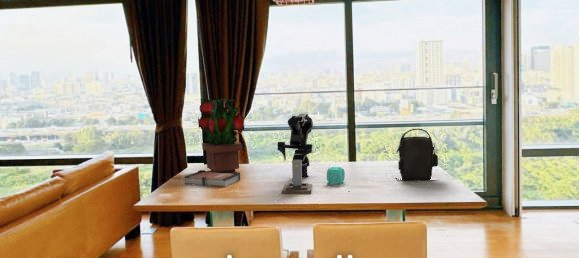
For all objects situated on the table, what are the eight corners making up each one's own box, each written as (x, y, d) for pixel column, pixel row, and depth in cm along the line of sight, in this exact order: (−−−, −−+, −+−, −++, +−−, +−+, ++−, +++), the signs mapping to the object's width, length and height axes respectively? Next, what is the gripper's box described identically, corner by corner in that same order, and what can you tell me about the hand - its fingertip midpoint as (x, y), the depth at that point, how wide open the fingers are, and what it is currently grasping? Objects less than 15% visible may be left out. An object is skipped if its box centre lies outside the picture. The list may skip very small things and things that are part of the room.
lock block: (293, 186, 245) (292, 159, 243) (302, 186, 244) (301, 159, 243) (292, 188, 240) (291, 161, 238) (301, 188, 239) (300, 161, 238)
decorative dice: (330, 180, 263) (330, 166, 262) (344, 181, 260) (344, 167, 259) (326, 183, 255) (326, 169, 254) (341, 184, 253) (340, 169, 252)
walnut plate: (284, 187, 250) (284, 182, 250) (312, 186, 249) (312, 182, 249) (282, 193, 236) (281, 189, 236) (311, 193, 235) (311, 188, 235)
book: (183, 184, 265) (183, 176, 264) (201, 178, 281) (200, 170, 280) (224, 187, 255) (224, 178, 254) (240, 181, 271) (240, 172, 270)
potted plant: (200, 170, 303) (197, 99, 298) (233, 166, 313) (230, 98, 308) (211, 176, 283) (207, 101, 278) (246, 172, 293) (243, 99, 288)
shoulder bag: (435, 177, 264) (436, 127, 261) (440, 180, 255) (440, 128, 252) (394, 177, 265) (394, 128, 262) (397, 181, 256) (397, 129, 253)
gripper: (278, 126, 253) (276, 152, 245) (313, 129, 253) (312, 155, 245) (278, 137, 263) (276, 162, 255) (312, 140, 262) (310, 165, 254)
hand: (293, 161), depth 252 cm, fingers open, 9 cm apart
